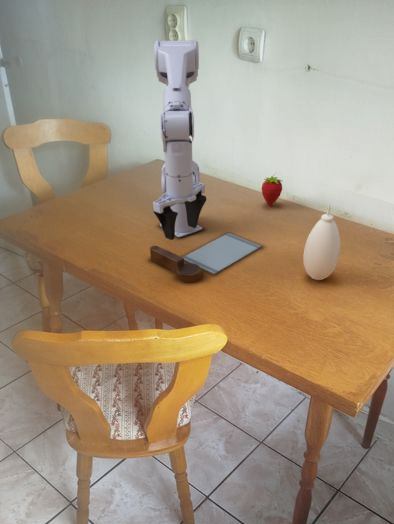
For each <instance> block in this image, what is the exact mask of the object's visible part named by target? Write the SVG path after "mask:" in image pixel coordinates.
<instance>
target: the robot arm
mask: <svg viewBox="0 0 394 524" xmlns="http://www.w3.org/2000/svg"><path fill="white" fill-rule="evenodd" d="M153 51H154V52H153V53H154V54H153V55H154V69H155V72H156V77H157V79H158V82H160V83H162V84H164V85H165V86H166V87H165V88H164V90H163V93H162V113H161V114H160V118H159V120H160V123H159V124H160V137H161V142H162V148H163V149H162V150H163V153H164V163H163V165H162V167H161V177H160V179H161V193H162V195H161V196H160V197H159V198H157V200H155V201H153V202H152V211H153V214H154V215H155V216H156V218H157V220H158V222H159V226H160V227H161V228H162V231H163V235H164V237H165V238H166V239H168V240H170V241H174V239H175V237H177V238H182V237H185V236H188V235H191V234H194V233H196V232H197V233H198V232H199V231H202V230H203V226H200V225H198V223H199V218H200V215H201V212H202V210H203V207H204V205H205V203H206V202H207V196H206V195H203V194H205V193H206V184H205V183H202V182H201V173H200V166H199V164H198V163H197V162H196V161H194V160H193V142H194V140H195V139H194V138H195V116H194V113H193V112H194V111H193V107H192V93H191V90H190V88H189V87H190V85H191V84H193V83H194V82H197V80H198V77H199V69H200V68H199V67H200V63H199V61H200V60H199V59H200V56H199V55H200V53H199V42H198V41H197V39H196V38H195V39H192V40H191V39H188V40H187V39H186V40H183V39H182V40H159V39H156V40H155V42H154V44H153ZM190 137H191V138H192V139H191V138H190Z"/></svg>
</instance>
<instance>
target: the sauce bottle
mask: <svg viewBox="0 0 394 524" xmlns="http://www.w3.org/2000/svg"><path fill="white" fill-rule="evenodd" d="M330 210H331V203H329V204H328V206H327V211H326V213H324V214H322V215H321V216H320V219H319V220H318V221H317V222H316V223H315V225H314V226H313V227H312V229H311V230H310V232H309V234H308V236H307V239H306V240H305V245H304V248H303V255H302V259H303V260H302V261H303V267H304V270H305V272H306V274H307V275H308V276H309V278H311V279H312V280H316V281H322V280H324V279H326V278H328V277H330V276H331V274H332V273H333V272H334V271H335V269H336V267H337V265H338V263H339V259H340V255H341V237H340V232H339V228H338V226H337V223H336V222H335V220H334V219H335V217H334V215H333V214H330V213H331V212H330Z"/></svg>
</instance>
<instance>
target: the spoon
mask: <svg viewBox="0 0 394 524" xmlns="http://www.w3.org/2000/svg"><path fill="white" fill-rule="evenodd" d="M149 252H150V262H152V263H154V264H156V265H157V266H160V267H162V268H164V269H166V270H169V271H171V272H173V273H175V274H176V278H177V280H179V281H180V282H182V283H189V284H190V283H191V284H192V283H195V282H198V281H199V280H200V279H201V278H202V268H200V266H199V265H197V264H194V263H189V262H185V260H184V258H182V257H183V256H180V255H177V254H176V253H174V252H171V251H170V250H167V249H165V248H162V247H161V246H159V245H151V246H150V247H149Z"/></svg>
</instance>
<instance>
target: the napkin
mask: <svg viewBox="0 0 394 524" xmlns="http://www.w3.org/2000/svg"><path fill="white" fill-rule="evenodd" d="M261 248H262V246H261V245H260V244H257V243H255V242H252V241H250V240H247V239H245V238H242V237H239V236H237V235H234V234H232V233H230V232H227V233H225V234H223V235H222V236H220V237H217V238H216V239H214V240H212V241H210V242H208V243H206V244H205V245H203V246H201V247H199V248H197V249H195V250H193V251H191V252H190V253H188V254H185V255H184V256H181V257H182V258H184V262H186V263H194V264H197V265H199V266H200V268H201V270H203V271H206V272H207V273H210V274H213V275H216V274H218V273H219V272H222V271H223V270H225V269H226V268H228V267H229V266H231V265H233V264H235V263H237V262H239V261H240V260H241V259H243V258H245V257H247V256H248V255H250V254H252V253H253V252H255V251H258V250H259V249H261Z"/></svg>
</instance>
